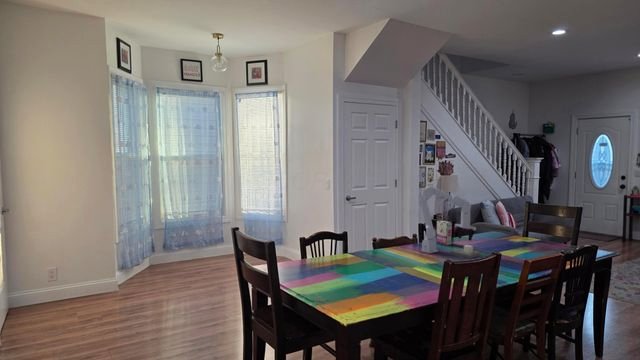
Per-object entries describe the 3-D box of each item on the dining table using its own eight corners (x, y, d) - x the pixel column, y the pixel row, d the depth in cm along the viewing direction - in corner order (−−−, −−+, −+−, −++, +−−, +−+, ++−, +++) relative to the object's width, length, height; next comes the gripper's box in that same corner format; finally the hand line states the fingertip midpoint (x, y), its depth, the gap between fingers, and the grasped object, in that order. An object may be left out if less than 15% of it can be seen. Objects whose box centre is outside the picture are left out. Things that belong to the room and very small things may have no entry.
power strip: (469, 258, 262) (469, 254, 261) (450, 254, 273) (450, 250, 272) (480, 255, 269) (480, 251, 269) (461, 251, 280) (461, 247, 280)
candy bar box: (451, 244, 299) (452, 222, 297) (446, 245, 297) (447, 223, 295) (441, 241, 309) (441, 220, 307) (436, 242, 307) (436, 220, 305)
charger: (469, 255, 266) (469, 246, 266) (463, 254, 270) (463, 245, 269) (472, 255, 269) (472, 245, 268) (467, 253, 272) (467, 244, 272)
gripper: (478, 220, 270) (478, 240, 271) (459, 217, 281) (459, 236, 282) (472, 221, 266) (472, 241, 267) (453, 218, 277) (452, 238, 278)
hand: (464, 239), depth 274 cm, fingers open, 7 cm apart
